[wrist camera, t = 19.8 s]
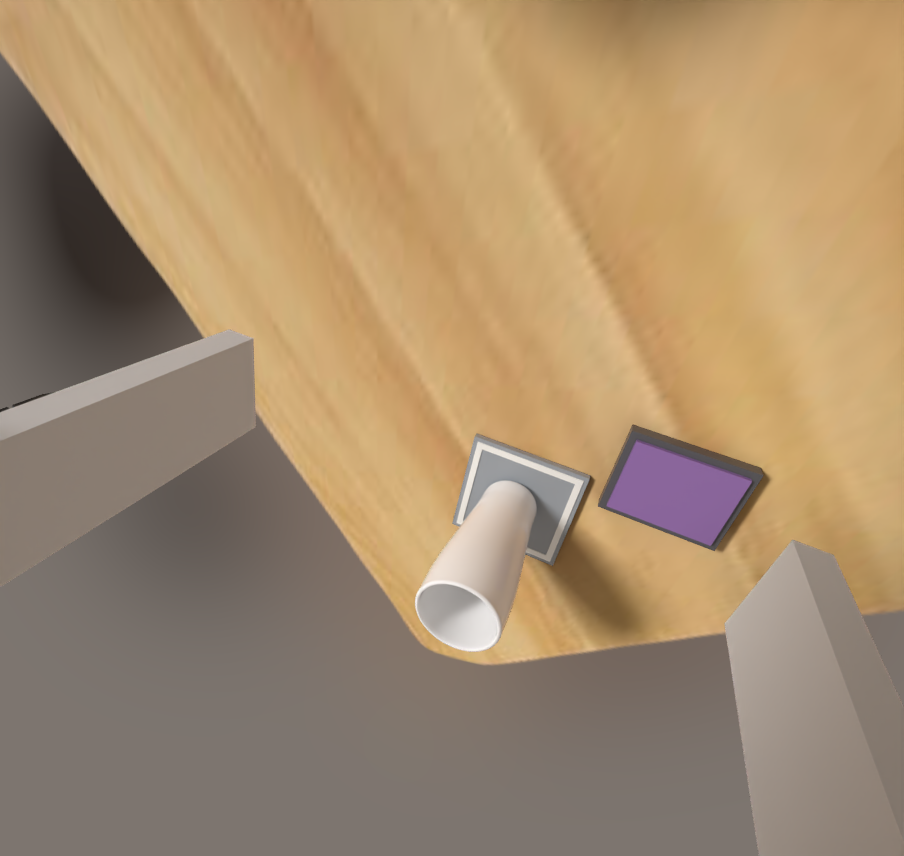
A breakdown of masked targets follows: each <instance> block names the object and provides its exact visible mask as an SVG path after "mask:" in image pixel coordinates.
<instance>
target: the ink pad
mask: <svg viewBox="0 0 904 856" xmlns="http://www.w3.org/2000/svg"><path fill="white" fill-rule="evenodd" d="M763 476H764V475H763V473H762V470H761V468H760V467H757V466H754V465H751V464H748V463H745V462H742V461H739V460H736V459H733V458H730V457H727V456H724V455H721V454H718V453H715V452H712V451H709V450H706V449H703V448H700V447H698V446H695V445H692V444H689V443H686V442H683V441H680V440H677V439H674V438H671V437H668V436H665V435H662V434H659V433H656V432H653V431H650V430H647V429H644V428H641V427H638V426H636V425H632V427H631V429H630V432H629V434H628V436H627V438H626V441H625V443H624V445H623V447H622V449H621V452H620V454H619V456H618V458H617V461H616V463H615V465H614V467H613V469H612V472H611V474H610V476H609V478H608V481H607V483H606V485H605V487H604V489H603V492H602V494H601V496H600V498H599V503H598V507H601V508H604V509H606V510H609V511H611V512H614V513H617V514H619V515H622V516H624V517H627V518H630V519H632V520H635V521H637V522H640V523H643V524H645V525H648V526H650V527H653V528H656V529H658V530H661V531H664V532H666V533H669V534H671V535H674V536H677V537H679V538H682V539H684V540H687V541H690V542H692V543H695V544H697V545H700V546H703V547H705V548H708V549H710V550H713V551H715V549H716V548H717V546H718V545H719V543H720V542H721V540H722V538H723V537H724V535H725V534H726V532H727V531H728V529H729V528H730V526H731V525H732V523H733V522H734V520H735V519H736V517H737V516H738V514H739V512H740V511H741V509H742V508H743V506H744V505H745V503H746V502H747V500H748V499H749V497H750V496H751V494H752V493H753V491H754V489H755V488H756V486H757V485H758V483H759V482H760V480H761V479H762V477H763Z"/></svg>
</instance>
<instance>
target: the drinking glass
mask: <svg viewBox="0 0 904 856" xmlns="http://www.w3.org/2000/svg"><path fill="white" fill-rule="evenodd" d="M536 513H537V505H536V501H535V498H534V497H533V495H532V493H531V492H530V491H529V490H528V489H527V488H526V487H524V486H523V485H521V484H519V483H517V482H514V481H509V480H503V481H498V482H495V483H493V484H491V485H490V486H489V487H488V488H487V489H486V490H485V492H484V494H483V495H482V497H481V499H480V500H479V502H478V503H477V504H476V506H475V507H474V508H473V510H472V511H471V512H470V514H469V515H468V516H467V518H466V519H465V520H464V522H463V523H462V524H461V526H460V527H459V528H458V530H457V531H456V532H455V534H454V535H453V536H452V537H451V539H450V540H449V541H448V543H447V544H446V545H445V547H444V548H443V549H442V551H441V552H440V554H439V555H438V557H437V558H436V560H435V561H434V563H433V565H432V566H431V568H430V570H429V571H428V573H427V575H426V577H425V579H424V581H423V583H422V585H421V587H420V589H419V590H418V592H417V595H416V598H415V607H416V612H417V615H418V617H419V619H420V621H421V622H422V624H423V625H424V626H425V628H426V629H427V630H428V631H429V632H430V633H431V634H432V635H433V636H434V637H436V638H437V639H438V640H440V641H441V642H443V643H445V644H447V645H449V646H451V647H453V648H456V649H459V650H463V651H470V652H478V651H484V650H487V649H489V648H491V647H493V646H494V645H495V644H496V643H497V642H498V641H499V639H500V637H501V634H502V632H503V630H504V627H505V625H506V623H507V620H508V618H509V615H510V612H511V609H512V607H513V604H514V600H515V597H516V593H517V590H518V586H519V581H520V577H521V573H522V568H523V563H524V559H525V555H526V550H527V546H528V541H529V537H530V533H531V529H532V525H533V522H534V519H535V517H536Z"/></svg>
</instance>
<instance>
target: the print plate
mask: <svg viewBox="0 0 904 856" xmlns="http://www.w3.org/2000/svg"><path fill="white" fill-rule="evenodd" d="M589 479H590V475H587V474H585V473H582V472H579V471H577V470H574V469H571V468H568V467H566V466H563V465H560V464H558V463H555V462H552V461H550V460H547V459H544V458H541V457H539V456H536V455H533V454H531V453H528V452H525V451H523V450H520V449H517V448H514V447H512V446H509V445H506V444H504V443H501V442H498V441H496V440H493V439H490V438H487V437H485V436H482V435H479V434H476V436H475V438H474V442H473V446H472V450H471V454H470V458H469V461H468V465H467V469H466V473H465V477H464V481H463V485H462V488H461V492H460V496H459V500H458V504H457V508H456V512H455V516H454V519H453V523H452V524H454V525H457V526H459V527H460V526H461V524H462V523H463V522H464V520H465V519H466V518H467V516H468V515H469V514H470V512H471V511H472V510H473V508H474V507H475V506H476V504H477V503H478V502H479V500H480V499H481V497H482V495H483V494H484V492H485V490H486V489H487V488H488V487H489V486H490V485H491V484H493V483H495V482H498V481H503V480H509V481H514V482H517V483H519V484H521V485H523V486H524V487H526V488H527V489H528V490H529V491H530V492H531V493H532V495H533V497H534V498H535V501H536V505H537V513H536V517H535V519H534V522H533V525H532V529H531V533H530V537H529V541H528V546H527V550H526V555H528V556H530V557H533V558H535V559H538V560H540V561H542V562H545V563H547V564H549V565H552V566H553V564H554V562H555V559H556V557H557V555H558V552H559V550H560V548H561V545H562V543H563V541H564V538H565V536H566V534H567V531H568V529H569V526H570V524H571V522H572V519H573V517H574V515H575V512H576V510H577V508H578V505H579V503H580V501H581V498H582V496H583V494H584V491H585V489H586V486H587V484H588V482H589Z"/></svg>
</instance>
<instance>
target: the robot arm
mask: <svg viewBox="0 0 904 856" xmlns="http://www.w3.org/2000/svg"><path fill="white" fill-rule="evenodd" d="M254 427H256V420H255V383H254V346H253V338H251V337H248V336H245V335H243V334H240V333H237V332H235V331H232V330H226V331H224V332H221V333H218V334H215V335H213V336H210V337H207V338H204V339H201V340H199V341H196V342H193V343H190V344H188V345H185V346H182V347H179V348H177V349H174V350H171V351H168V352H166V353H163V354H160V355H157V356H154V357H152V358H149V359H146V360H143V361H141V362H138V363H135V364H132V365H130V366H127V367H124V368H121V369H118V370H116V371H113V372H110V373H107V374H105V375H102V376H99V377H96V378H94V379H91V380H88V381H85V382H83V383H80V384H77V385H74V386H71V387H69V388H66V389H63V390H61V391H58V392H53V393H48V394H42V395H39V396H37V397H34V398H31V399H28V400H25V401H23V402H20V403H17V404H14V405H13V407H12V408H7V407H6V408H3V409H0V587H1V586H3V585H4V584H5V583H7V582H9V581H11V580H12V579H13V578H15V577H17V576H18V575H20V574H22V573H23V572H25V571H26V570H28V569H30V568H31V567H33V566H34V565H36V564H38V563H39V562H41V561H42V560H44V559H46V558H47V557H49V556H50V555H52V554H54V553H55V552H57V551H58V550H60V549H62V548H63V547H65V546H66V545H68V544H69V543H71V542H73V541H74V540H76V539H77V538H79V537H81V536H82V535H84V534H85V533H87V532H89V531H90V530H92V529H93V528H95V527H97V526H98V525H100V524H101V523H103V522H105V521H106V520H108V519H109V518H111V517H113V516H114V515H116V514H117V513H119V512H121V511H122V510H124V509H125V508H127V507H129V506H130V505H132V504H133V503H135V502H137V501H138V500H139V499H141V498H143V497H144V496H146V495H148V494H149V493H151V492H152V491H154V490H155V489H157V488H159V487H160V486H162V485H164V484H165V483H167V482H168V481H170V480H172V479H173V478H175V477H176V476H178V475H180V474H181V473H183V472H184V471H186V470H188V469H189V468H191V467H192V466H194V465H196V464H197V463H199V462H200V461H202V460H203V459H205V458H206V457H208V456H210V455H211V454H213V453H215V452H216V451H218V450H219V449H221V448H222V447H224V446H226V445H227V444H229V443H231V442H232V441H234V440H235V439H237V438H239V437H240V436H242V435H243V434H245V433H247V432H248V431H250V430H251V429H253V428H254ZM725 630H726V636H727V643H728V649H729V657H730V664H731V670H732V677H733V684H734V690H735V697H736V703H737V711H738V717H739V724H740V731H741V737H742V745H743V751H744V758H745V765H746V772H747V778H748V785H749V792H750V798H751V805H752V811H753V819H754V825H755V832H756V839H757V846H758V852H759V856H904V706H903V704H902V702H901V700H900V697H899V695H898V693H897V691H896V689H895V687H894V684H893V682H892V680H891V678H890V676H889V674H888V671H887V669H886V667H885V665H884V663H883V661H882V658H881V656H880V654H879V652H878V650H877V648H876V646H875V643H874V641H873V639H872V637H871V635H870V632H869V630H868V628H867V626H866V624H865V622H864V620H863V617H862V615H861V613H860V611H859V609H858V606H857V604H856V602H855V600H854V598H853V596H852V593H851V591H850V589H849V587H848V585H847V583H846V580H845V578H844V576H843V574H842V572H841V570H840V567H839V565H838V563H837V561H836V559H835V557H834V555H832V554H830V553H827V552H824V551H822V550H819V549H816V548H814V547H811V546H808V545H806V544H803V543H800V542H797V541H795V540H792V541H791V542H790V543H789V545H788V546H787V547H786V548H785V550H784V551H783V552H782V553H781V555H780V556H779V557H778V558H777V559H776V561H775V562H774V563H773V564H772V566H771V567H770V568H769V569H768V571H767V572H766V573H765V574H764V576H763V577H762V578H761V579H760V580H759V582H758V583H757V584H756V585H755V587H754V588H753V589H752V590H751V592H750V593H749V594H748V595H747V597H746V598H745V599H744V600H743V602H742V603H741V604H740V605H739V606H738V608H737V609H736V610H735V611H734V613H733V614H732V615H731V616H730V618H729V619H728V620H727V621H726V623H725Z"/></svg>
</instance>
